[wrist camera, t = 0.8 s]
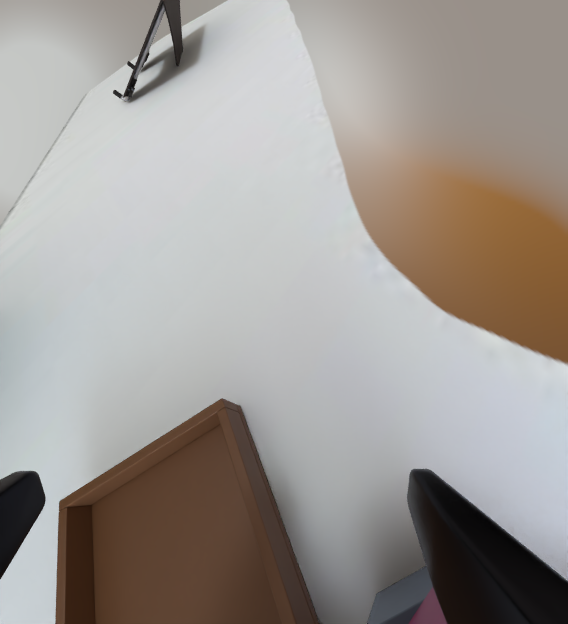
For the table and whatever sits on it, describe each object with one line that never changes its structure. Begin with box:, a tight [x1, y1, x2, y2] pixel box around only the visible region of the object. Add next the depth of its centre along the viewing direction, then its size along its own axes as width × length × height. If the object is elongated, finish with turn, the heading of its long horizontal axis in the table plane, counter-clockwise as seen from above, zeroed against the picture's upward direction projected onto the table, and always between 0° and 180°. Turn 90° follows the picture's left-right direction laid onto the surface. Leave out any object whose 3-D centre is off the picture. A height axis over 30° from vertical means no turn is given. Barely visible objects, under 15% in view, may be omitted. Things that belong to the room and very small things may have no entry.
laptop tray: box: [113, 0, 183, 101], centre depth 67 cm, size 23×23×9 cm
